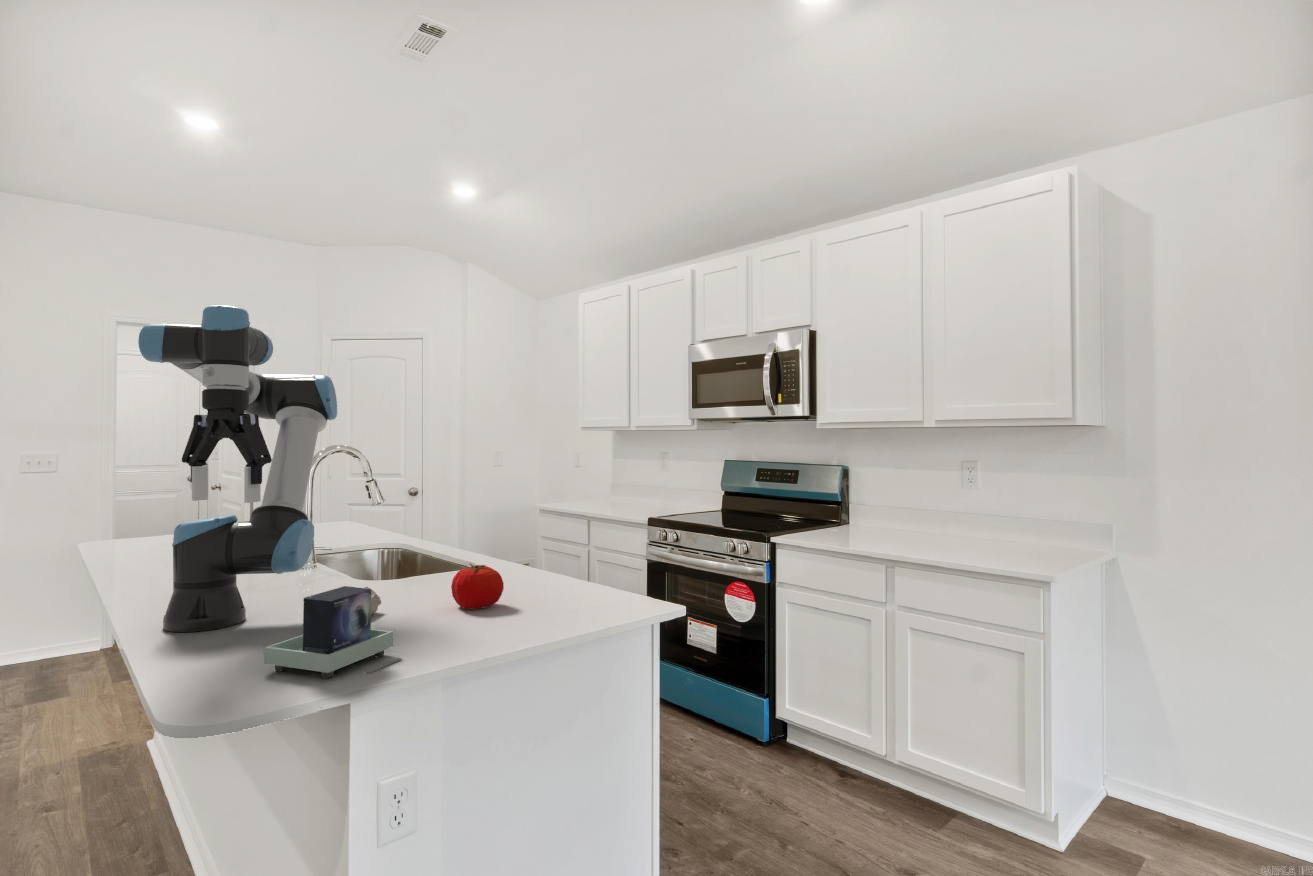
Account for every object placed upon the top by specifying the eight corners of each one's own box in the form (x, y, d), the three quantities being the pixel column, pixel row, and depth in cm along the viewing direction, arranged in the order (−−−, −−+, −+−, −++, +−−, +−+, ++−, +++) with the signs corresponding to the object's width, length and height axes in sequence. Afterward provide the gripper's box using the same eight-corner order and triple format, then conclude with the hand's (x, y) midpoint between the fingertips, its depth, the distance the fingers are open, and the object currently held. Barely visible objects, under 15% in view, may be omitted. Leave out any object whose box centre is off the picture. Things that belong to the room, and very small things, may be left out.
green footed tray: (264, 672, 118) (264, 647, 118) (334, 647, 132) (334, 624, 132) (328, 682, 113) (328, 656, 113) (393, 655, 127) (393, 631, 127)
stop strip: (366, 673, 117) (366, 671, 117) (398, 659, 125) (398, 658, 125) (370, 673, 117) (370, 672, 117) (402, 659, 125) (402, 658, 125)
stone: (380, 631, 157) (390, 588, 161) (349, 617, 146) (362, 572, 151) (350, 630, 158) (361, 588, 163) (318, 616, 147) (331, 572, 152)
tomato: (461, 601, 170) (461, 560, 170) (510, 602, 169) (509, 561, 169) (440, 612, 159) (440, 568, 159) (492, 614, 158) (492, 569, 158)
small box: (332, 661, 116) (332, 600, 116) (300, 658, 118) (300, 597, 118) (373, 643, 126) (373, 587, 127) (343, 641, 128) (343, 585, 128)
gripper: (159, 389, 130) (159, 500, 129) (257, 385, 121) (257, 504, 121) (197, 392, 137) (197, 497, 137) (292, 388, 128) (292, 501, 128)
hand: (225, 501), depth 129 cm, fingers open, 13 cm apart
